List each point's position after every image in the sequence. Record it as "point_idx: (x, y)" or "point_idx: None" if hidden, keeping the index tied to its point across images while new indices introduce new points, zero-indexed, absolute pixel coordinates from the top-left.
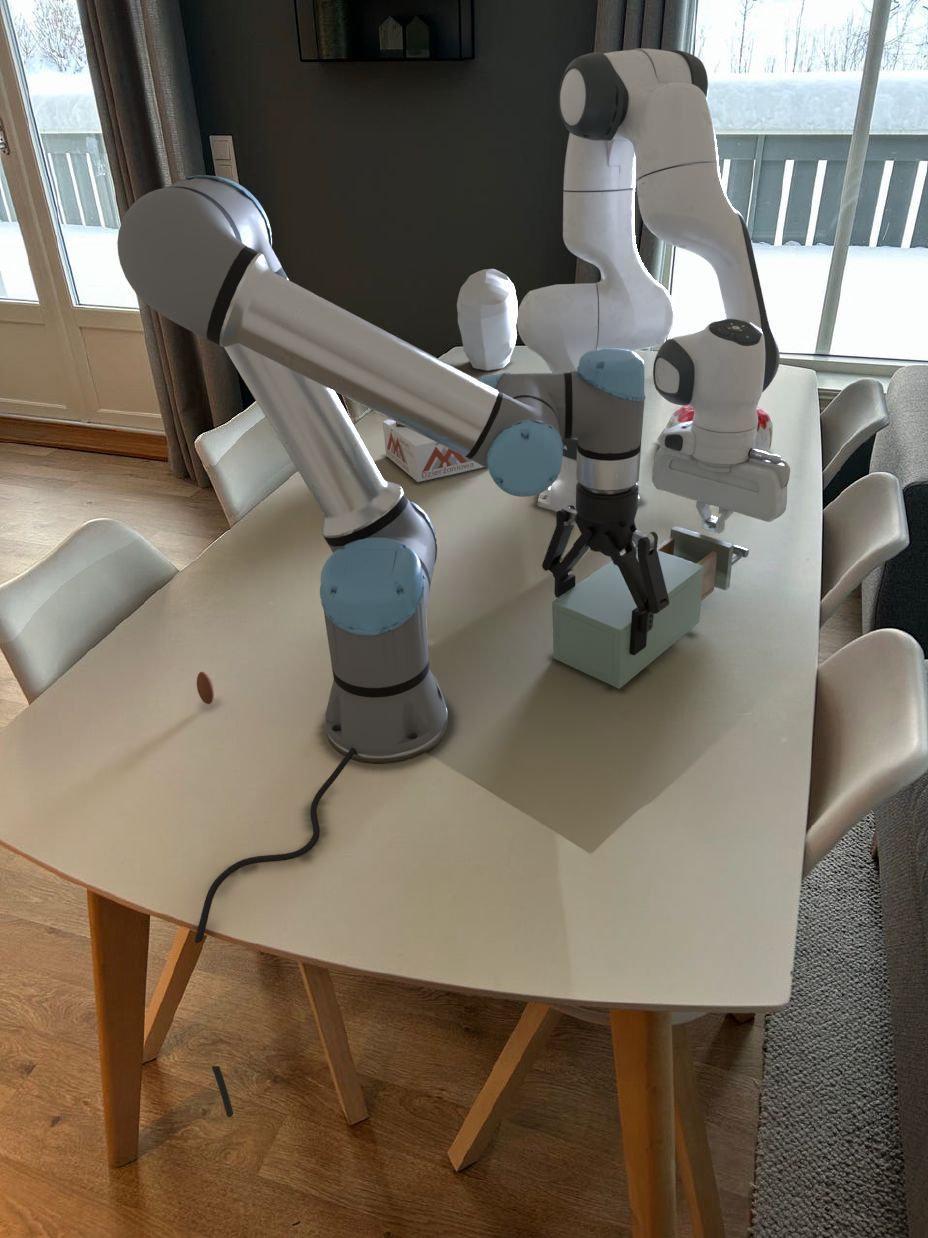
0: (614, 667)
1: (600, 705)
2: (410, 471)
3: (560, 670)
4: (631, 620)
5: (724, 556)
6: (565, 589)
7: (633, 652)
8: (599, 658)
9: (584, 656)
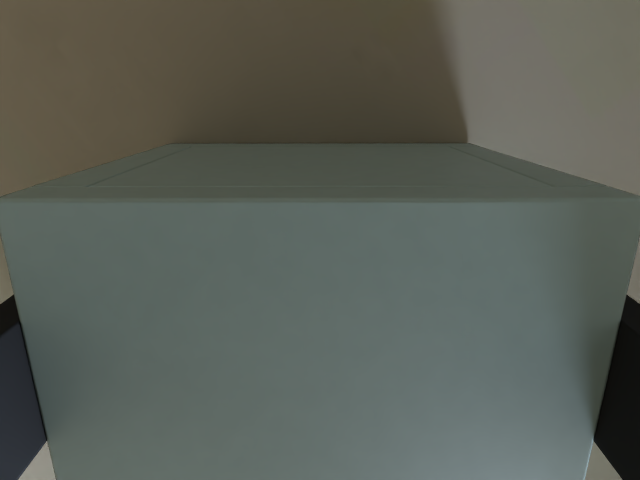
0: (162, 153)
1: (147, 9)
2: None
3: (404, 97)
4: (9, 330)
5: None
6: (631, 364)
7: None
8: (241, 155)
9: (325, 152)
